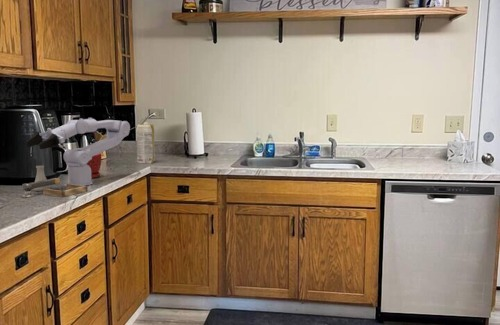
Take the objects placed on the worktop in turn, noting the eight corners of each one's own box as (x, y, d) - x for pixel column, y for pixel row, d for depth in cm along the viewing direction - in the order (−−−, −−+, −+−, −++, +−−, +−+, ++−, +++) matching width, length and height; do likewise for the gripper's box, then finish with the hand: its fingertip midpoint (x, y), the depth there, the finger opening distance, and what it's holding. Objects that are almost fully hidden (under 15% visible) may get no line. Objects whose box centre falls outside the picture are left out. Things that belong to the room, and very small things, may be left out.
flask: (53, 188, 197) (52, 164, 195) (46, 191, 190) (45, 167, 188) (36, 188, 196) (34, 164, 195) (28, 191, 189) (27, 167, 188)
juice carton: (155, 162, 278) (155, 122, 274) (151, 164, 270) (151, 122, 266) (140, 161, 278) (139, 121, 275) (136, 163, 271) (135, 122, 267)
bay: (68, 188, 195) (68, 183, 195) (87, 191, 191) (87, 186, 191) (43, 194, 184) (43, 189, 183) (63, 197, 179) (62, 191, 179)
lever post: (28, 194, 183) (28, 188, 183) (36, 195, 181) (36, 189, 181) (19, 196, 179) (18, 190, 179) (27, 197, 177) (27, 191, 177)
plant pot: (68, 179, 218) (67, 153, 217) (81, 174, 231) (80, 150, 230) (94, 180, 217) (93, 154, 215) (106, 175, 230) (105, 151, 228)
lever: (27, 190, 177) (26, 185, 177) (20, 189, 179) (20, 184, 179) (60, 183, 192) (60, 178, 192) (54, 182, 194) (54, 177, 193)
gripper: (46, 123, 195) (18, 134, 184) (70, 126, 188) (43, 138, 177) (50, 138, 197) (23, 150, 187) (74, 142, 191) (48, 154, 180)
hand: (33, 145), depth 182 cm, fingers open, 7 cm apart
